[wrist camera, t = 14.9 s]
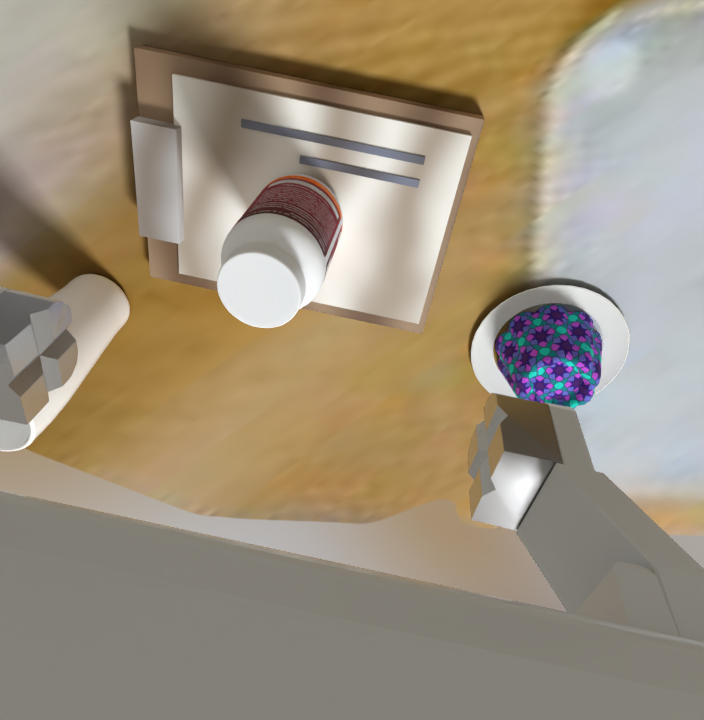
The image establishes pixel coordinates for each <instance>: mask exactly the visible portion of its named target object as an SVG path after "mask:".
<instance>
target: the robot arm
mask: <svg viewBox="0 0 704 720" xmlns="http://www.w3.org/2000/svg"><path fill="white" fill-rule="evenodd" d="M72 322H73V320H72V315H71V311H70V307H69V306H68V305H67V304H66V303H64V302H63V301H60V300H55V299H51V298H47V297H43V296H38V295H34V294H30V293H25V292H21V291H17V290H11V289H8V288H3V287H0V420H5V421H10V422H16V423H21V424H26V425H28V424H29V423H30V422H31V420H32V419H33V418H34V417H35V416H36V415H37V414H38V413H39V412H40V411H41V410H42V409H43V407H44V406H45V405H46V404H47V403H48V402H49V396H48V392H49V391H52V390H54V389H57V388H60V387H62V386H64V384H65V383H66V382H67V381H68V380H69V379H70V377H71V376H72V374H73V371H74V369H75V366H76V364H77V357H78V348H77V342H76V340H75V338H74V337H73V336H72V335H71V334H70V332H69V331H68V330H67V328H68V327H69V326H70V324H71V323H72ZM484 419H485V421H483V422H481V423H480V424H478V425H476V428H475V430H474V433H473V436H472V438H471V443H470V447H469V452H468V473H469V474H470V475H471V477H472V478H473V479H474V481H473V484H472V486H471V488H470V490H469V494H470V508H471V520H475V521H479V522H483V523H487V524H491V525H496V526H500V527H504V528H508V529H512V530H516V531H517V532H516V533H517V535H518V536H519V538H520V539H521V541H522V542H523V544H524V546H525V547H526V549H527V550H528V552H529V553H530V555H531V556H532V558H533V560H534V561H535V563H536V564H537V566H538V567H539V569H540V570H541V572H542V573H543V575H544V577H545V578H546V580H547V581H548V583H549V584H550V586H551V587H552V589H553V590H554V592H555V594H556V595H557V597H558V598H559V600H560V601H561V603H562V604H563V606H564V607H565V609H566V611H567V612H564V611H559V610H555V609H550V608H545V607H540V606H536V605H531V604H527V603H522V602H518V601H513V600H508V599H504V598H499V597H494V596H490V595H485V594H480V593H475V592H470V591H466V590H462V589H457V588H452V587H448V586H443V585H438V584H434V583H429V582H424V581H419V580H415V579H410V578H405V577H401V576H397V575H392V574H387V573H383V572H378V571H373V570H369V569H364V568H359V567H355V566H350V565H346V564H341V563H336V562H332V561H327V560H322V559H317V558H313V557H308V556H304V555H299V554H294V553H290V552H285V551H281V550H276V549H271V548H267V547H262V546H257V545H253V544H248V543H244V542H239V541H234V540H229V539H225V538H220V537H216V536H211V535H206V534H202V533H197V532H192V531H187V530H183V529H178V528H174V527H169V526H164V525H160V524H155V523H151V522H146V521H141V520H136V519H132V518H127V517H122V516H118V515H113V514H109V513H104V512H99V511H95V510H89V509H85V508H81V507H76V506H71V505H67V504H62V503H57V502H52V501H48V500H44V499H38V498H34V497H30V496H25V495H20V494H16V493H11V492H6V491H2V490H0V720H704V569H703V568H702V567H701V566H700V565H699V564H698V563H697V562H696V561H695V560H694V559H693V558H692V557H691V556H689V554H687V553H686V552H685V551H684V550H683V549H682V548H681V547H680V546H679V545H678V544H677V543H676V542H675V541H674V540H673V539H672V538H671V537H670V536H669V535H668V534H666V533H665V532H664V531H663V530H662V529H661V528H660V527H659V526H658V525H657V524H656V523H655V522H654V521H653V520H652V519H651V518H650V517H649V516H648V515H647V514H646V513H644V512H643V511H642V510H641V509H640V508H639V507H638V506H637V505H636V504H635V503H634V502H633V501H632V500H631V499H630V498H629V497H628V496H627V495H626V494H625V493H624V492H622V491H621V490H620V489H619V488H618V487H617V486H616V485H615V484H614V483H613V482H612V481H611V480H610V479H609V478H608V477H607V476H606V475H605V474H604V473H600V472H596V471H595V469H594V466H593V463H592V460H591V457H590V454H589V451H588V448H587V445H586V442H585V439H584V436H583V433H582V430H581V427H580V423H579V420H578V417H577V414H576V411H575V410H574V409H573V408H572V407H567V406H561V405H556V404H550V403H540V402H536V401H531V400H526V399H521V398H516V397H511V396H506V395H502V394H497V393H491V395H490V396H489V398H488V399H487V402H486V404H485V406H484Z"/></svg>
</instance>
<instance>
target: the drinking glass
mask: <svg viewBox="0 0 704 720" xmlns="http://www.w3.org/2000/svg"><path fill="white" fill-rule="evenodd" d="M48 298H51V299H55V300H60V301H63V302H64V303H66V304H67V305H68V306H69V307H70V311H71V315H72V320H73V322H72V323H71V324H70V326H69V327H68V328H67V330H68V331H69V332H70V334H71V335H72V336H73V337H74V338H75V340H76V342H77V348H78V357H77V364H76V366H75V369H74V371H73V374H72V376H71V377H70V379H69V380H68V381H67V382H66V383H65V384H64V386H62V387H60V388H57V389H54V390H52V391H49V392H48V396H49V402H48V403H47V404H46V405H45V406H44V407H43V409H42V410H41V411H40V412H39V413H38V414H37V415H36V416H35V417H34V418H33V419H32V420H31V422H30V423H29V424H28V425H26V424H21V423H16V422H10V421H5V420H0V451H17V450H21V449H24V448H25V447H27V446H29V445H30V444H31V443H32V442H33V441H34V440H35V439H36V438H37V437H38V436H39V435H40V434H41V433H42V431H43V430H44V429H45V428H46V427H47V426H48V425H49V424H50V423H51V422H52V421H53V420H54V419H55V417H56V416H57V415H58V414H59V413H60V412H61V410H62V409H63V408H64V407H65V405H66V404H67V403H68V401H69V400H70V399H71V397H72V396H73V394H74V393H75V392H76V390H77V389H78V387H79V386H80V384H81V383H82V382H83V380H84V379H85V377H86V376H87V374H88V373H89V371H90V370H91V369H92V367H93V366H94V364H95V363H96V361H97V360H98V359H99V357H100V356H101V354H102V353H103V351H104V350H105V349H106V347H107V346H108V344H109V343H110V342H111V340H112V339H113V337H114V336H115V335H116V333H117V332H118V331H119V330H120V329H121V328H122V327H123V325H124V324H125V323H126V321H127V320H128V317H129V314H130V306H129V302H128V299H127V297H126V295H125V293H124V292H123V291H122V289H121V288H120V287H119V286H118V285H117V284H115V283H114V282H113V281H111V280H110V279H108V278H106V277H103V276H101V275H96V274H83V275H80V276H78V277H76V278H74V279H73V280H71V281H70V282H69V283H68V284H67V285H65V286H64V287H63V288H61V289H60V290H58V291H57V292H55V293H54V294H52V295H51V296H49V297H48Z"/></svg>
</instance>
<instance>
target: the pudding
mask: <svg viewBox="0 0 704 720" xmlns="http://www.w3.org/2000/svg"><path fill="white" fill-rule="evenodd" d="M547 303H563V304H568V305H573V306H575V307H578V308H581V309H582V310H584V311H586V312H587V313H589V314H590V315H591V316H592V317H593V318H594V319H595V320H596V321H597V323H598V324H599V326H600V328H601V331H602V333H603V340H604V342H603V350H602V340H601V336H600V334H599V333H597V332H595V331H593V321H592V319H591V318H590V317H589V315H587V314H585V313H583V312H581V311H575V312H568V311H567V310H566V309H565V308H564V307H563V306H561V305H554V304H552V305H546V306H543V307H541V308H540V309H539V310H538V311H537V312H535V313H532V312H523V313H521V314H519V315H516V314H517V313H519V312H521V311H523V310H525V309H527V308H530V307H532V306H536V305H540V304H547ZM514 315H516V316H515V317H514V318H513V319H512V320H511V321H510V322H509V328H508V331H506V332H504V333H502V334H500V335H499V336H498V338H497V340H496V342H495V350H496V352H497V353H498V355H499V357H500V358H499V360H498V362H497V364H498V367H499V370H500V371H501V372H500V371H499V370H498V368H497V366H496V364H495V361H494V357H493V347H494V341H495V339H496V336H497V334H498V332H499V331H500V329H501V328H502V326H503V325H504V324H505V323H506V322H507V321H508V320H509V319H511V318H512V317H513V316H514ZM629 344H630V337H629V329H628V326H627V323H626V321H625V318H624V317H623V315H622V314H621V312H620V311H619V309H618V308H617V307H616V306H615V305H614V304H613V303H612V302H611V301H610V300H608V299H606V298H605V297H603V296H602V295H600V294H598V293H596V292H593V291H591V290H588V289H586V288H581V287H576V286H570V285H550V286H541V287H537V288H533V289H529V290H526V291H523V292H521V293H519V294H516V295H514V296H512V297H510V298H509V299H507V300H505V301H503V302H502V303H500V304H499V305H498V306H497V307H496V308H494V309H493V310H492V311H491V312H490V313H489V314H488V315H487V316H486V317H485V319H484V320H483V321H482V323H481V324H480V326H479V327H478V329H477V331H476V333H475V336H474V339H473V341H472V347H471V363H472V367H473V370H474V373H475V375H476V377H477V379H478V380H479V382H480V383H481V384H482V386H483V387H484V388H485V389H486V390H487V391H488V392H489V393H497V394H502V395H506V396H511V397H516V398H521V399H526V400H531V401H536V402H540V403H550V404H556V405H561V406H567V407H572V408H573V409H574V408H575V407H576V406H578V405H584V404H586V403H587V402H589V401H590V400H591V398H592V397H593V395H595V394H596V393H598V392H599V391H601V390H602V389H603V388H605V387H606V386H607V385H608V384H609V383H610V382H611V381H612V380H613V379H614V378H615V377H616V375H617V374H618V373H619V371H620V370H621V368H622V366H623V365H624V363H625V360H626V357H627V355H628V351H629ZM502 374H503V375H502Z"/></svg>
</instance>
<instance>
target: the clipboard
mask: <svg viewBox="0 0 704 720" xmlns="http://www.w3.org/2000/svg"><path fill="white" fill-rule="evenodd" d="M134 57H135V71H136V85H137V99H138V112H139V116H138V117H136V118H134V119H132V120H130V122H131V135H132V147H133V159H134V172H135V184H136V196H137V209H138V221H139V233H140V236H144V237H147V238H148V252H149V266H150V276H151V277H155V278H160V279H165V280H170V281H174V282H179V283H184V284H189V285H193V286H198V287H203V288H207V289H212V290H217V291H218V289H217V277H218V273H219V270H220V268H221V251H222V246H223V243H224V241H225V239H226V237H227V235H228V233H229V232H230V230H231V229H232V228H233V226H234V225H235V224H236V223H237V221H238V220H239V219H240V218H241V217H242V215H243V214H244V213H245V212H246V210H247V209H248V208H249V207H250V205H251V204H252V203H253V201H254V200H255V199H256V198H257V196H258V195H259V194H260V192H261V191H262V190H263V189H264V188H265V187H266V186H267V185H268V184H269V183H270V182H271V181H273V180H274V179H276V178H278V177H280V176H283V175H287V174H304V175H308V176H311V177H314V178H316V179H318V180H319V181H321V182H322V183H324V184H325V185H326V186H327V187H328V188H329V189H330V190H331V191H332V192H333V193H334V195H335V196H336V198H337V200H338V202H339V204H340V207H341V210H342V214H343V227H342V233H341V236H340V239H339V242H338V244H337V247H336V250H335V252H334V255H333V258H332V260H331V263H330V265H329V268H328V271H327V274H326V276H325V279H324V282H323V284H322V286H321V289H320V291H319V292H318V294H317V295H316V297H315V298H314V299H313V300H312V301H311V302H310V303H309V304H307V305H306V306H304V307H302V309H307V310H312V311H316V312H321V313H326V314H331V315H335V316H340V317H345V318H350V319H354V320H359V321H364V322H369V323H373V324H378V325H383V326H388V327H392V328H397V329H402V330H407V331H411V332H416V333H421V334H422V332H423V329H424V325H425V322H426V319H427V315H428V312H429V308H430V305H431V301H432V298H433V295H434V291H435V288H436V284H437V281H438V277H439V274H440V271H441V267H442V264H443V260H444V257H445V253H446V250H447V247H448V243H449V240H450V236H451V233H452V230H453V226H454V223H455V219H456V216H457V212H458V209H459V206H460V202H461V199H462V195H463V192H464V188H465V185H466V182H467V178H468V175H469V171H470V168H471V164H472V161H473V158H474V154H475V151H476V147H477V144H478V140H479V137H480V134H481V130H482V127H483V123H484V117H483V116H482V115H478V114H473V113H468V112H463V111H458V110H453V109H448V108H444V107H439V106H434V105H429V104H424V103H419V102H415V101H410V100H405V99H400V98H395V97H390V96H386V95H381V94H376V93H371V92H366V91H361V90H357V89H352V88H347V87H342V86H337V85H332V84H327V83H323V82H318V81H313V80H308V79H303V78H298V77H294V76H289V75H284V74H279V73H274V72H269V71H265V70H260V69H255V68H250V67H245V66H240V65H235V64H231V63H226V62H221V61H216V60H211V59H206V58H202V57H197V56H192V55H187V54H182V53H177V52H173V51H168V50H163V49H158V48H153V47H148V46H143V45H142V46H138V47H134Z"/></svg>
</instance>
